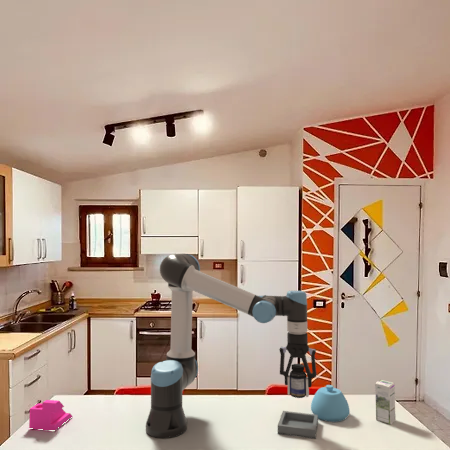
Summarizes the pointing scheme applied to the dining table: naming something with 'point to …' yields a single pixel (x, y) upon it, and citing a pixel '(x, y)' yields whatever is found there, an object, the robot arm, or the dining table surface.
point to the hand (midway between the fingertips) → (298, 394)
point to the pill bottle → (297, 381)
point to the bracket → (48, 415)
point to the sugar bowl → (330, 404)
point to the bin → (298, 424)
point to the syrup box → (385, 401)
